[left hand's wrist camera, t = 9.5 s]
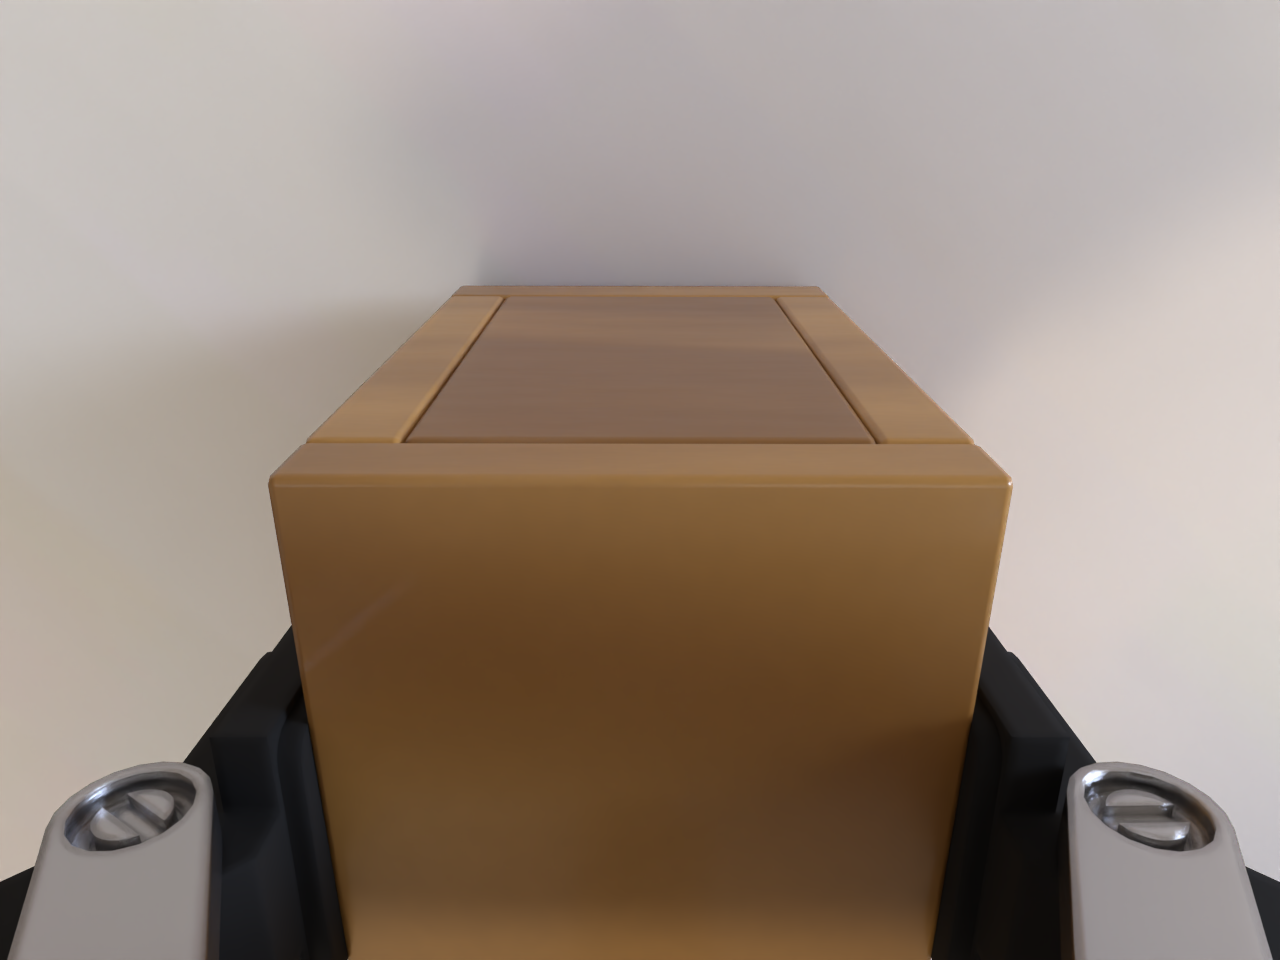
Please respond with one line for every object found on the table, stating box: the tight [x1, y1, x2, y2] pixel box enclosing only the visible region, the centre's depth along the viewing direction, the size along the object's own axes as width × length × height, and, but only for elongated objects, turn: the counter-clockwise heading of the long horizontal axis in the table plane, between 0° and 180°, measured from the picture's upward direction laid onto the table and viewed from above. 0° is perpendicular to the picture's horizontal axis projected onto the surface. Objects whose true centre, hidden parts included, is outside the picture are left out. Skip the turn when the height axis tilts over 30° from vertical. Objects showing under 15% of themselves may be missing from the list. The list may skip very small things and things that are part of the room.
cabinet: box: [268, 286, 1013, 960], centre depth 15 cm, size 20×6×9 cm, turn 0°
